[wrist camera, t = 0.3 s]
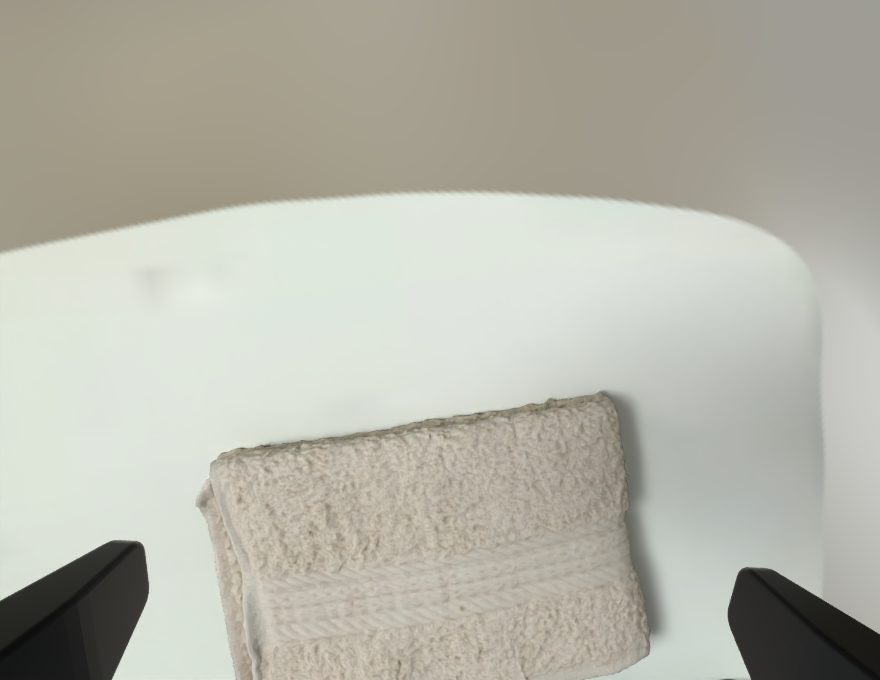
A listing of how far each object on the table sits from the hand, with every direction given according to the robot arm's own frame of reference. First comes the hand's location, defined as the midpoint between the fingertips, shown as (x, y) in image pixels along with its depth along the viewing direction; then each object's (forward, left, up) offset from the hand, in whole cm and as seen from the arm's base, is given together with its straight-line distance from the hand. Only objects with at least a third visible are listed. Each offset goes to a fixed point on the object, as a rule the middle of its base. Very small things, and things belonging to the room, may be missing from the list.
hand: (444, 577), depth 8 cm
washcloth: (-5, -5, -16) cm, 17 cm away
